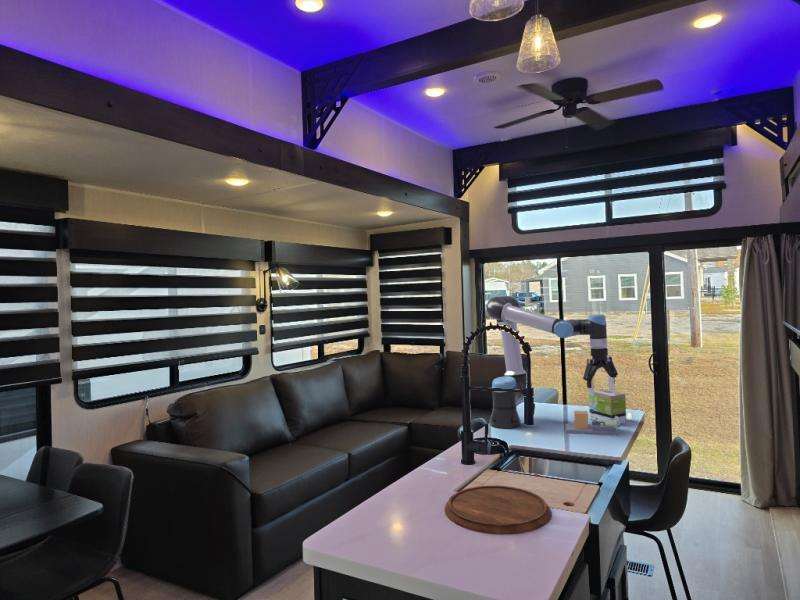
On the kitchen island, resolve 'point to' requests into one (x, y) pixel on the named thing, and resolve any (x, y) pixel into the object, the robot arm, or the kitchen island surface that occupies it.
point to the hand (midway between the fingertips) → (601, 393)
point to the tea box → (607, 406)
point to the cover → (612, 422)
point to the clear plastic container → (592, 429)
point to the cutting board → (497, 510)
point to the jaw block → (581, 419)
